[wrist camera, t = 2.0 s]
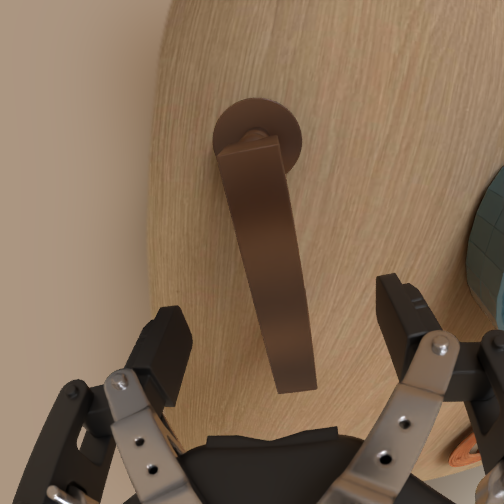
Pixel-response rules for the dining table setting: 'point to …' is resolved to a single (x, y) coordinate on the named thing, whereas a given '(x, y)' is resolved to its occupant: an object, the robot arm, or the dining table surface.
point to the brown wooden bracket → (268, 230)
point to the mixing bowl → (488, 253)
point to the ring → (464, 453)
